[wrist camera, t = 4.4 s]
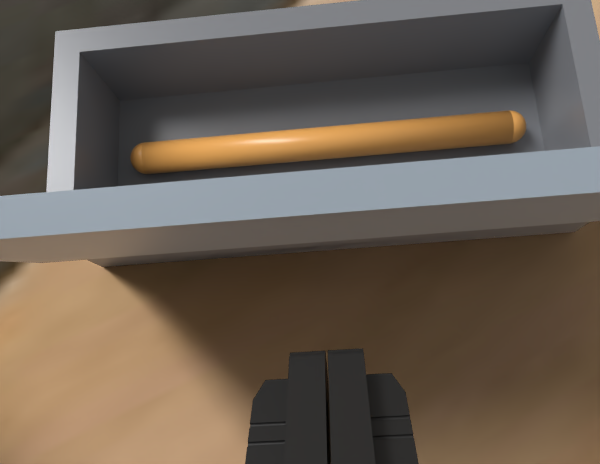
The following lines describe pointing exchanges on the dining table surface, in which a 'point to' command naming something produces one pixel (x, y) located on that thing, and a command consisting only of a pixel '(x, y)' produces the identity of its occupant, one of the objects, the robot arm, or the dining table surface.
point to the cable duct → (322, 96)
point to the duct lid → (304, 206)
